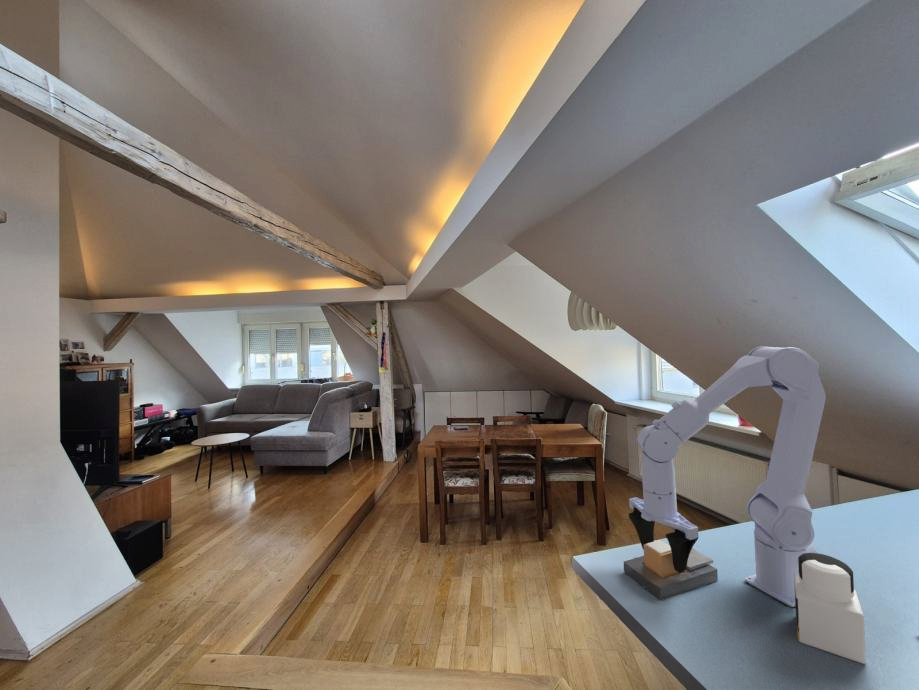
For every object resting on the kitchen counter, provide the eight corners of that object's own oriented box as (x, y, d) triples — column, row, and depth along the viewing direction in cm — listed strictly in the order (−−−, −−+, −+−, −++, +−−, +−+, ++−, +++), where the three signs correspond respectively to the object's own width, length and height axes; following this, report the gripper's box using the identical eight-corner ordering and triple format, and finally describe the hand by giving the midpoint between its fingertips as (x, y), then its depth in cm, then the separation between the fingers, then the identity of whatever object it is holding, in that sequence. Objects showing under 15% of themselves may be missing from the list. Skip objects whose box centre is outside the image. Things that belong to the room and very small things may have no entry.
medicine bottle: (795, 614, 63) (792, 542, 63) (857, 633, 59) (854, 556, 58) (798, 642, 58) (794, 564, 57) (866, 666, 53) (862, 580, 53)
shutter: (686, 547, 80) (685, 535, 80) (713, 563, 74) (712, 550, 74) (663, 554, 78) (663, 542, 78) (690, 570, 72) (689, 557, 72)
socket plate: (677, 556, 81) (676, 544, 81) (717, 580, 73) (717, 567, 73) (624, 572, 77) (623, 560, 77) (660, 600, 68) (659, 586, 68)
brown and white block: (661, 567, 77) (659, 538, 77) (679, 579, 73) (677, 549, 73) (644, 572, 75) (643, 543, 75) (662, 585, 71) (660, 554, 71)
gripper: (615, 480, 80) (619, 545, 80) (675, 508, 66) (679, 585, 66) (642, 474, 82) (646, 537, 82) (705, 500, 68) (709, 575, 68)
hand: (663, 558), depth 74 cm, fingers open, 7 cm apart
